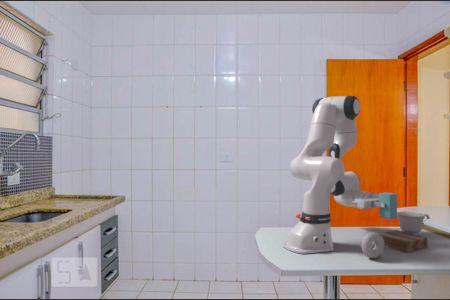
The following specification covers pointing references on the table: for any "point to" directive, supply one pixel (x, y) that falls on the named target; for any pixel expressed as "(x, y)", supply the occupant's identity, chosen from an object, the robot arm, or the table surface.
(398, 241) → the oak base
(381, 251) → the donut
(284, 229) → the table surface
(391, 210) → the teal block
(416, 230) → the teacup
